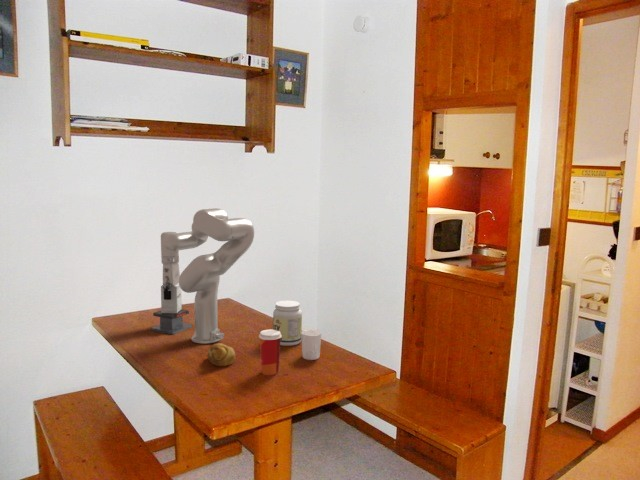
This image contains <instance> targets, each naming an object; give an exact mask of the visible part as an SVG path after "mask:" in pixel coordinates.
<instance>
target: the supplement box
mask: <svg viewBox="0 0 640 480" xmlns="http://www.w3.org/2000/svg"><path fill="white" fill-rule="evenodd" d="M168 288H169V286H168ZM163 289H164V288H163V284H162V285H160V298H161V299H160V301H161V303H160V304H161V305H160V307H161V308H160V310H161V313H172V314H177V313H178V312H179V311H180V310H181V309H182V304H183V303H182V289H181V288H180V286H179V283H178V284H176V285H174V286H172V285H171V289H170V291H171V300H164V291H163Z"/></svg>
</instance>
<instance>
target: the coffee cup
mask: <svg viewBox="0 0 640 480" xmlns="http://www.w3.org/2000/svg"><path fill="white" fill-rule="evenodd" d="M281 337H282V335H281V333H280V331H277V330H273V328H272V329H271V328H270V329H263V330H261V331H260V332H259V335H258V338H259V349H260V364H261V366H260V367H261V368H260V369H261V374H262V375H263V376H264V375H265V376H275V375H277V374H279V366H280V353H281V345H280V340H281Z"/></svg>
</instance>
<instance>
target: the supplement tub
mask: <svg viewBox="0 0 640 480" xmlns="http://www.w3.org/2000/svg"><path fill="white" fill-rule="evenodd" d="M274 308H275V309H274V311H273V314H272V318H273V319H272V321H273V322H272V326H273V327H272V330H277V331H280V333H281V335H282V337H281V340H280V346H283V347H284V346H286V347H290V346H291V347H292V346H296V345H298V344H300V343H302V338H301V332H302V331H303V311H302V309H301V303H300V302H299V301H296V300H279V301H276V302H275V307H274Z"/></svg>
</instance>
